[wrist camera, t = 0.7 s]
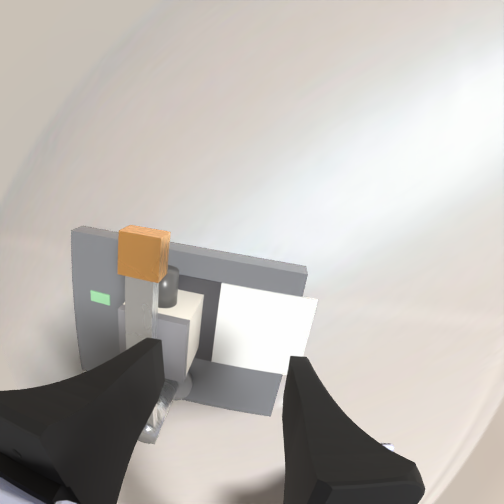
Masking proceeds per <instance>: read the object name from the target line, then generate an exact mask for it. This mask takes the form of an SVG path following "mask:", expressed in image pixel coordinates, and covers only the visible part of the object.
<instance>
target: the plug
mask: <svg viewBox="0 0 504 504" xmlns="http://www.w3.org/2000/svg"><path fill="white" fill-rule="evenodd" d="M178 282H179V269H178V268H177V267H174V266H171V265H168V268H167V274H166V275H165V276H164V278H163V279H162V280H161V281H160V282H159V294H158V319H157V339H160V340H162V351H163V363H164V374H165V379H169V380H173V381H177V382H182V383H184V380H185V378H186V375H187V373H188V371H189V368H190V366H191V364H192V361H193V359H194V357H195V354H196V352H197V349H198V347H199V337H200V327H201V317H202V308H203V299H204V295H203V294H198V293H193V292H188V291H183V290H178ZM118 326H119V347H120V354H121V353H122V352H124V351H126V329H125V302H124V303H123V304H122V305H121V306H120V307H119V308H118Z"/></svg>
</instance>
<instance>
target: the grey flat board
mask: <svg viewBox="0 0 504 504" xmlns="http://www.w3.org/2000/svg"><path fill="white" fill-rule="evenodd" d="M118 236H119V232H113V231H108V230H103V229H97V228H92V227H86V226H81V227H78V228H76V229H74V230H71V257H72V282H73V297H74V310H75V320H76V329H77V338H78V346H79V353H80V360H81V366H82V369H84V370H86V371H89V370H91V369H93V368H95V367H97V366H99V365H101V364H103V363H105V362H107V361H108V360H110V359H112V358H114V357H116V356H117V355H119V354H120V347H119V326H118V308H119V307H120V306H121V305H122V304H123V303H124V302H125V276H124V275H119V274H118ZM168 265H171V266H174V267H177V268H178V269H179V282H178V290H183V291H188V292H193V293H198V294H203V295H204V299H203V308H202V317H201V327H200V337H199V347H198V349H197V352H196V354H195V357H194V359H193V361H192V364H191V366H190V368H189V371H188V373H187V375H186V378H185V380H184V383H182V382H178V384H179V387H178V390H177V392H176V395H175V397H174V399H173V400H181V399H182V400H186V401H191V402H195V403H199V404H204V405H209V406H213V407H218V408H223V409H229V410H234V411H239V412H245V413H251V414H257V415H264V416H271V413H272V410H273V406H274V403H275V399H276V396H277V392H278V389H279V385H280V382H281V378H282V374H284V375H287V372H288V366H289V360H290V356H301V357H303V354H304V350H305V347H306V344H307V340H308V336H309V333H310V329H311V326H312V322H313V318H314V315H315V311H316V307H317V303H318V299H316V298H309V297H303V292H304V288H305V284H306V280H307V275H308V273H307V269H306V266H302V265H296V264H290V263H285V262H279V261H274V260H268V259H262V258H257V257H251V256H246V255H240V254H234V253H229V252H223V251H218V250H212V249H207V248H201V247H196V246H190V245H185V244H179V243H174V242H170V243H169V255H168Z"/></svg>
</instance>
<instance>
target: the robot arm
mask: <svg viewBox="0 0 504 504" xmlns="http://www.w3.org/2000/svg"><path fill="white" fill-rule="evenodd" d="M164 382H165V374H164V363H163V351H162V340H160V339H154V338H148V337H147V338H145V339H143V340H142V341H140V342H138V343H137V344H135V345H134V346H132V347H130V348H129V349H127V350H126V351H124V352H122V353H121V354H119V355H117V356H116V357H114V358H112V359H110V360H108V361H107V362H105V363H103V364H101V365H99V366H97V367H95V368H93V369H91V370H89V371H87V372H85V373H82V374H80V375H77V376H75V377H72V378H69V379H66V380H63V381H60V382H56V383H53V384H49V385H45V386H40V387H35V388H29V389H21V390H9V391H0V504H116V503H117V500H118V496H119V492H120V489H121V485H122V482H123V479H124V476H125V472H126V469H127V466H128V463H129V460H130V458H131V455H132V452H133V449H134V447H135V445H136V442H137V440H138V438H139V436H140V434H141V433H142V431H143V429H144V427H145V425H146V423H147V421H148V419H149V417H150V415H151V413H152V411H153V409H154V407H155V406H156V404H157V402H158V399H159V397H160V394H161V391H162V388H163V385H164ZM282 421H283V436H284V451H285V489H284V503H283V504H418V502H419V501H420V500H421V498H422V497H423V495H424V492H425V487H424V484H423V481H422V478H421V475H420V472H419V470H418V468H417V466H416V464H415V463H414V462H412V461H410V460H408V459H406V458H404V457H402V456H400V455H398V454H396V453H395V452H393V450H394V446H393V445H391V444H386V445H382V444H380V443H379V442H377V441H376V440H374V439H373V438H372V437H370V436H369V435H368V434H367V433H365V432H364V431H363V430H362V429H361V428H359V427H358V426H357V425H356V424H355V423H354V422H353V421H352V420H351V419H350V418H349V417H348V416H347V415H346V414H345V413H344V412H343V411H342V409H341V408H340V407H339V406H338V405H337V403H336V402H335V401H334V400H333V398H332V397H331V396H330V394H329V393H328V391H327V390H326V388H325V387H324V385H323V384H322V382H321V381H320V379H319V378H318V376H317V374H316V372H315V371H314V369H313V367H312V365H311V363H310V361H309V359H308V358H307V357H301V356H290V360H289V366H288V372H287V378H286V384H285V390H284V396H283V413H282Z"/></svg>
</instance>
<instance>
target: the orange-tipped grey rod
mask: <svg viewBox="0 0 504 504" xmlns="http://www.w3.org/2000/svg"><path fill="white" fill-rule="evenodd" d="M169 243H170V232H168V231H163V230H157V229H151V228H145V227H140V226H134V225H129V226H127V227H125V228H123V229H121V230H119V236H118V274H119V275H124V276H125V329H126V350H127V349H129V348H130V347H132V346H134V345H135V344H137V343H138V342H140V341H142V340H143V339H145V338H147V337H148V338H154V339H157V319H158V294H159V282H160V281H161V280H162V279H163V278H164V276H165V275H166V274H167V268H168V255H169ZM178 387H179V384H178V382H177V381H173V380H169V379H165V382H164V385H163V388H162V391H161V394H160V397H159V399H158V402H157V404H156V406H155V407H154V409H153V411H152V413H151V415H150V417H149V419H148V421H147V423H146V425H145V427H144V429H143V431H142V433H141V434H140V436H139V438H138V441H140V442H143V443H148V444H150V443H152V444H155V443H156V440H157V438H158V434H159V432H160V430H161V427H162V425H163V423H164V420H165V418H166V416H167V413H168V411H169V409H170V406H171V404H172V402H173V399H174V397H175V395H176V392H177V390H178Z"/></svg>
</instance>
